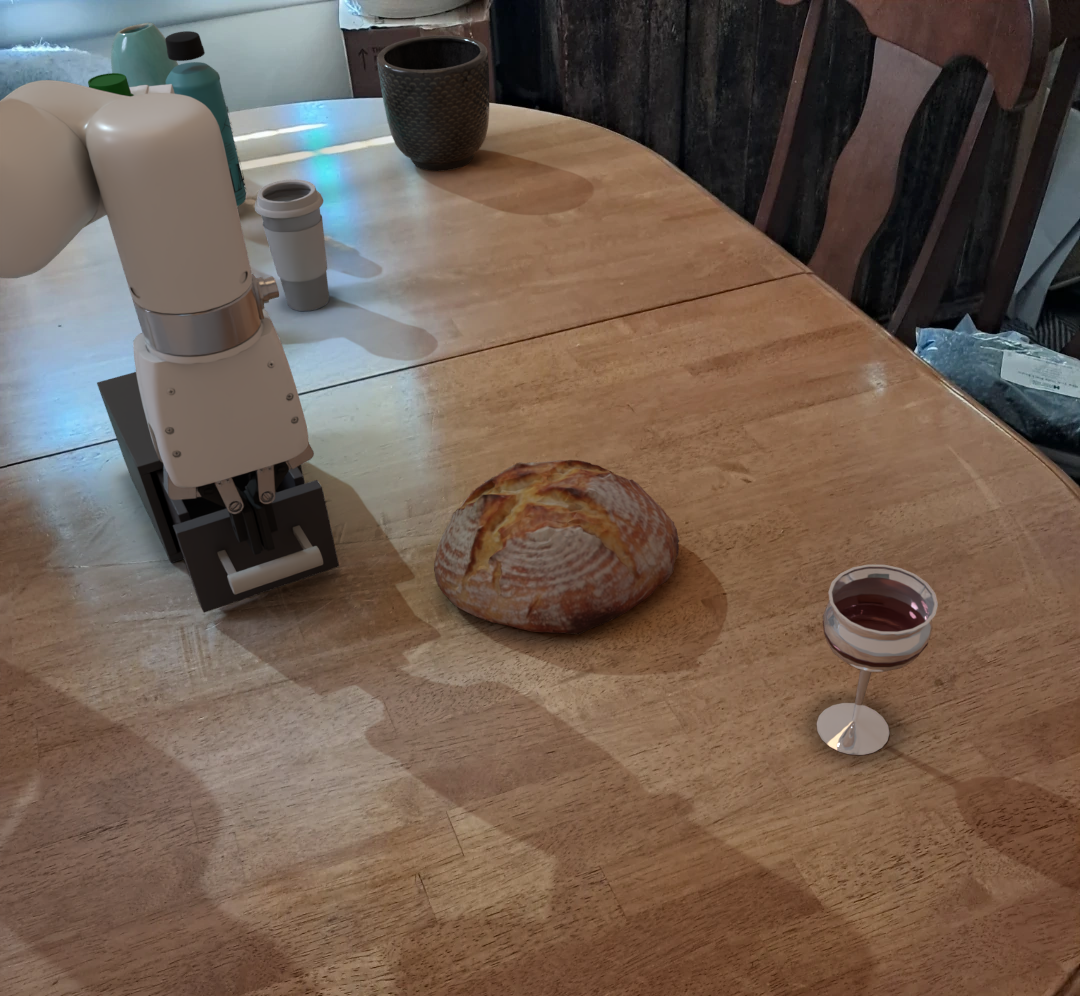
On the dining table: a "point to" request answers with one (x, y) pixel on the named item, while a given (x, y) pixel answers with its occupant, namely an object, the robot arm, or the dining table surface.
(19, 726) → the dining table surface
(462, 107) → the planter
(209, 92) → the beverage bottle
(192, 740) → the dining table surface
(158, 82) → the vase
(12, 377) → the dining table surface
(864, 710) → the wineglass
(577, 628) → the bread
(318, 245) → the cup
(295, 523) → the mini filing drawer
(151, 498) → the cabinet
